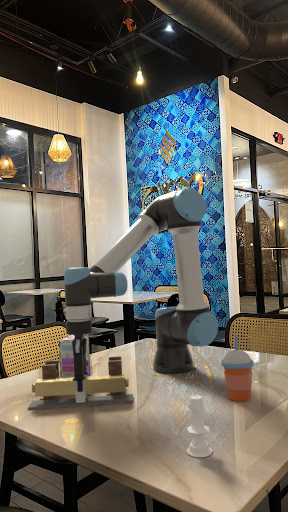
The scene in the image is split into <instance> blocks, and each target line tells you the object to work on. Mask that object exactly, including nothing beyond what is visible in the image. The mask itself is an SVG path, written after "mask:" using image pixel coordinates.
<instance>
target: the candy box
mask: <svg viewBox="0 0 288 512" xmlns="http://www.w3.org/2000/svg"><path fill="white" fill-rule="evenodd" d="M84 338H86V339H87V344H86V368H87V370H86V371H88V374H85V375H86V377H89V376H92V375H91V374H92V373H91V358H90V355H91V354H90V339H89V334H84ZM73 339H74V335H68V336H67V337H64V338H62V339H60V340H58V346H59V347H58V350H59V351H58V355H59V378H71V377H74V356H73V346H72V341H73Z"/></svg>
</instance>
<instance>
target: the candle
mask: <svg viewBox="0 0 288 512" xmlns="http://www.w3.org/2000/svg"><path fill="white" fill-rule="evenodd" d="M189 399H190V400H189V401H190V402H189V410H190V413H191V415H190V416H191V425H189V426H188V427H187V428H186V431H187V432H188V433H190V434H192V435H193V438H192V441H191V442H190V443H189V447H188V448H187V449H186V454H187V455H188V456H190V457H193V458H198V459H200V458H206V457H209V456H211V455H212V454H213V449H212V448H211V447H210V446H209V443H208V442H207V441H206V438H205V437H204V435H206V434H207V433H208V432H209V431H210V427H209V426H207V425H205V417H204V416H205V415H204V414H205V413H204V411H205V408H204V402H203V396H202V395H198V394H195V393H194V395H192V396H190V397H189Z"/></svg>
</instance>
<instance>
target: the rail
mask: <svg viewBox="0 0 288 512" xmlns="http://www.w3.org/2000/svg"><path fill="white" fill-rule="evenodd" d="M73 378H74V377H71V378H60V377H59V378H53V379H42V378H38V379H36V380H35V382H34V383H32V384H31V392H32V393H34V397H35V398H37V397H39V398H40V397H41V396H57V395H62V396H70V395H71V396H72V395H76V386H75V381H73ZM129 380H130V379H129V378H126V374H122V375H109V374H108V375H107V374H106V375H95V376H93V375H91V376H89V377H85V394H87V395H88V394H89V395H90V394H105V393H109V392H126V393H127V388H129V387H130V386H129V385H130V383H129V382H130V381H129ZM125 387H126V388H125Z"/></svg>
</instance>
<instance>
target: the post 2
mask: <svg viewBox="0 0 288 512" xmlns="http://www.w3.org/2000/svg"><path fill="white" fill-rule="evenodd" d="M122 362H123V361H122V355H118V356H115V355H114V356H108V360H107V363H108V365H107V366H108V375H123V365H122V364H123V363H122ZM125 388H126V389H127V387H125ZM124 394H127V391H126V392H109V393H106V395H105V396H110V395H124Z"/></svg>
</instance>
